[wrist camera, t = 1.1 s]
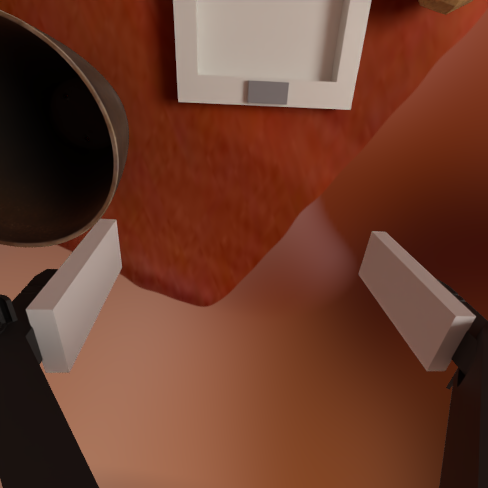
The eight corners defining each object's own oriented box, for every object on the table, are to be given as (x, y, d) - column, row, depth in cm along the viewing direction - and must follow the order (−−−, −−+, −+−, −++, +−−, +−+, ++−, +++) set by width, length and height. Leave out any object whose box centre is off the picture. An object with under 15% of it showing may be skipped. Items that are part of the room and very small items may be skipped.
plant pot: (98, 207, 38) (30, 282, 24) (-18, 105, 32) (-199, 128, 18) (186, 126, 35) (165, 160, 21) (73, -6, 29) (-65, -85, 15)
